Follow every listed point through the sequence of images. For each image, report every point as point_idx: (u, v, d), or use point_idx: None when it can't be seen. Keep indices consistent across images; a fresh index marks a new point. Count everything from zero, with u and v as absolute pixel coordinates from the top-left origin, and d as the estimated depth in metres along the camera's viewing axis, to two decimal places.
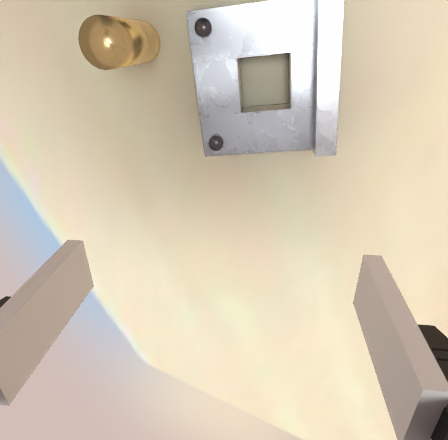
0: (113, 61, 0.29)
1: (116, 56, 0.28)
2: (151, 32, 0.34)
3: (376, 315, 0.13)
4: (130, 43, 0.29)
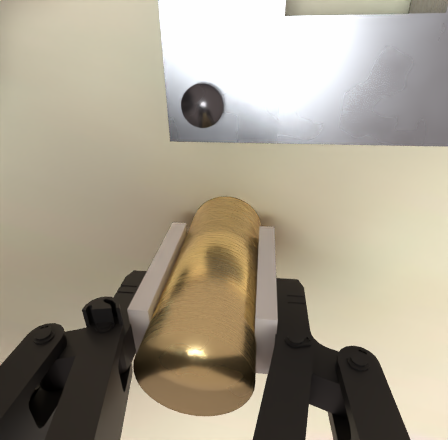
0: (237, 369, 0.11)
1: (226, 360, 0.11)
2: (208, 214, 0.17)
3: None
4: (203, 308, 0.11)
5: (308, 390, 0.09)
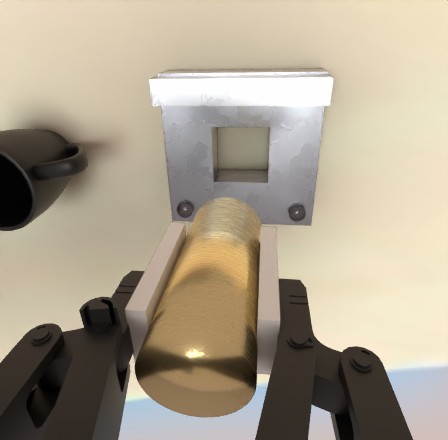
0: (238, 370, 0.11)
1: (228, 362, 0.11)
2: (208, 215, 0.17)
3: None
4: (205, 309, 0.11)
5: (311, 391, 0.09)
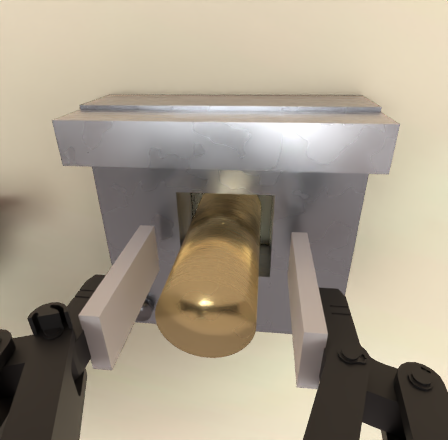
0: (241, 312, 0.13)
1: (232, 305, 0.13)
2: (214, 195, 0.20)
3: (293, 281, 0.15)
4: (213, 264, 0.13)
5: (361, 411, 0.09)
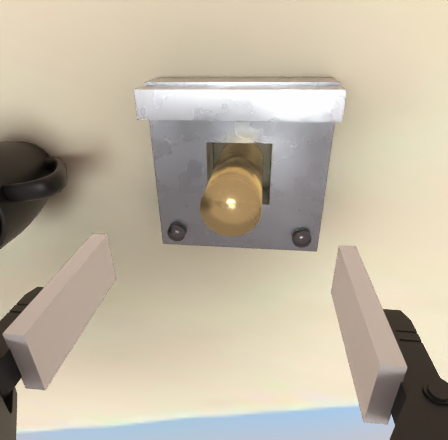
0: (252, 202, 0.22)
1: (247, 197, 0.22)
2: (231, 147, 0.28)
3: (347, 301, 0.14)
4: (235, 175, 0.22)
5: None
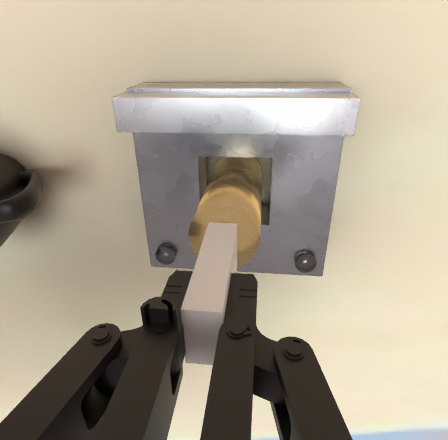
0: (249, 230, 0.18)
1: (243, 224, 0.18)
2: (226, 160, 0.25)
3: None
4: (229, 198, 0.19)
5: (251, 377, 0.10)
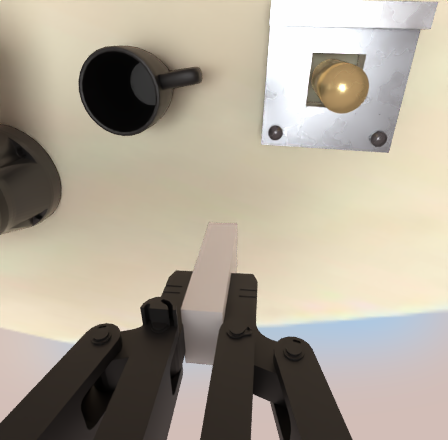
0: (363, 82, 0.29)
1: (359, 78, 0.29)
2: (328, 60, 0.36)
3: None
4: None
5: (251, 377, 0.10)
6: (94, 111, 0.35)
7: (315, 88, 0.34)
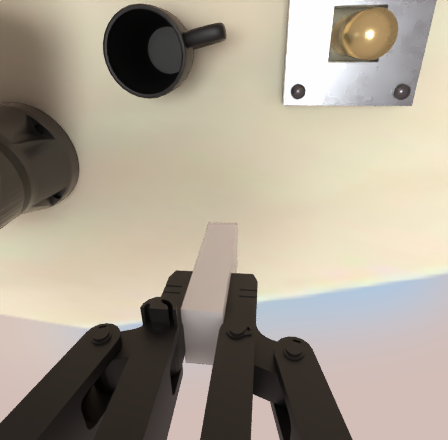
0: (392, 26, 0.29)
1: (389, 21, 0.29)
2: (349, 15, 0.36)
3: None
4: None
5: (251, 377, 0.10)
6: (118, 74, 0.35)
7: (339, 41, 0.34)
